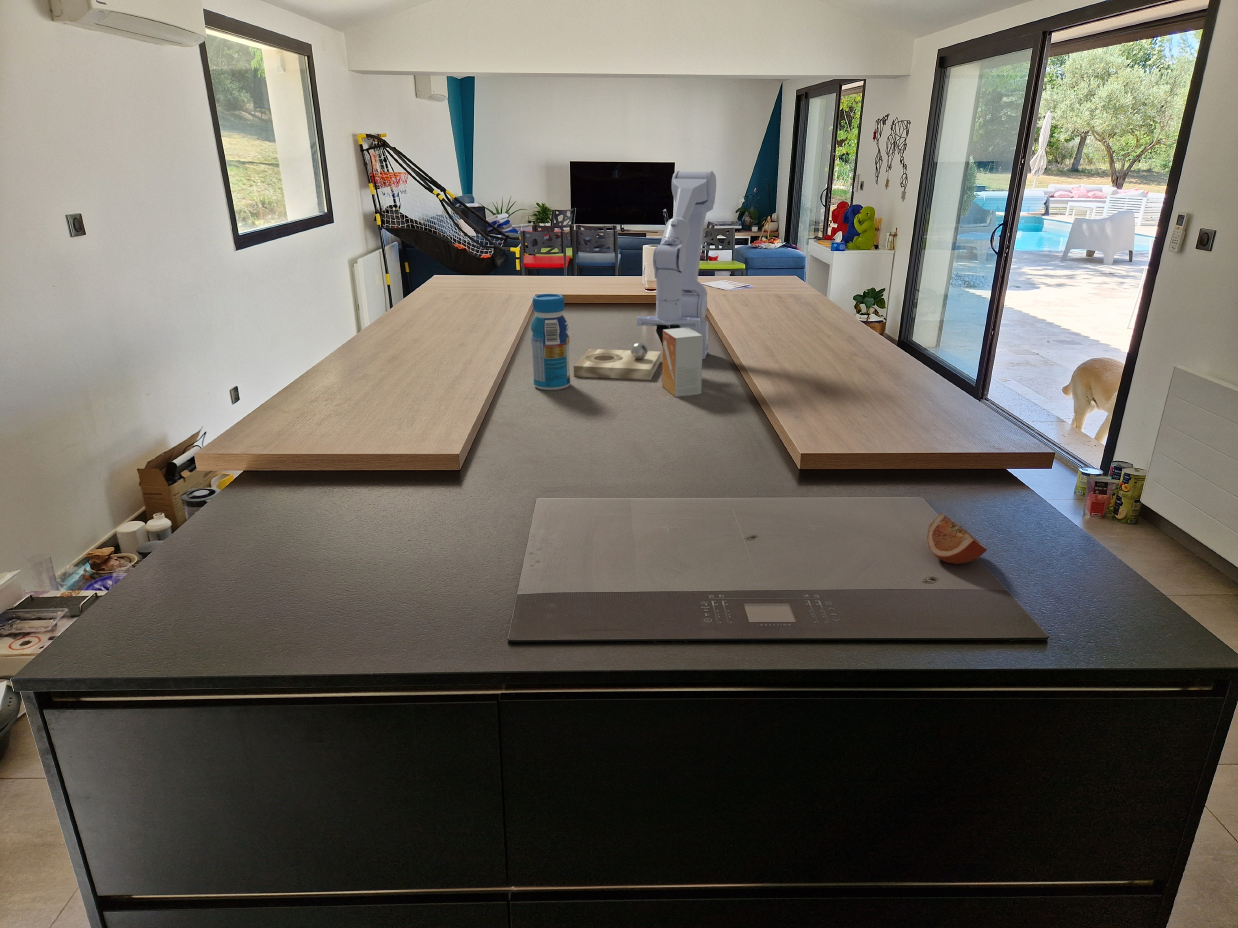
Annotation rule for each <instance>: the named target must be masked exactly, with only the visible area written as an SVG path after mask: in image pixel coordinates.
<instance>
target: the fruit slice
mask: <svg viewBox="0 0 1238 928" xmlns="http://www.w3.org/2000/svg"><path fill="white" fill-rule="evenodd" d="M926 537H927V538H926V539H927V545H928V549H929V551H930V552H931V553H932V554H933V555H934V556H935V557H936V558H938V559H939V560H941V561H942V562H945V563H949V564H956V565H959V564H960V565H961V564H966V563H969V562H973V561H974V560H976V559H979V558H980V557H981V556H983V555H984V554H985V553H986V552H987V550H988V548H987V547H986V546H984V545H983V543H981V542H980V541H979V540H978V539H976V538H975V537H974V536H973V535H972V534H971V533H969V532H968V531H967V530H966V529H965V528H963V525H959V524H958V523H956V522H955V521H954V520H952V519H951V518H949V517H948V516H947V515H945V514H944V513H943V512H940V513H939V514H938V516H936V518H935V519H933V521H932V522H931V523H930V524H929V525H928V530H927V535H926Z"/></svg>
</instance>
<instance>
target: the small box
mask: <svg viewBox="0 0 1238 928" xmlns="http://www.w3.org/2000/svg"><path fill="white" fill-rule="evenodd" d="M702 346H703V336H702V335H701V334H699V333H697V332H696V331H694V330H692V329H690V328H675V329H666V330H663V347H662V354H661V361H662V367H661V368H662V369H661V371H662V372H661V376H662V377H661V382H662V383H661V386H662V388H664V389H665V390H666V391H667V392H669V393H670V395H673V397H675V398H679V397H687V396H696V395H702V382H703V381H702V377H703V375H702V373H703V370H702V369H703V359H702Z"/></svg>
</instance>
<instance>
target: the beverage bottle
mask: <svg viewBox="0 0 1238 928" xmlns="http://www.w3.org/2000/svg"><path fill="white" fill-rule="evenodd" d="M532 308H533V309H532V310H533V312H534V314H535V315H534V317H533V319H532V322H531V325H530V332H532V335H531V337H530V344H531V353H532V367H533V371H532V372H533V385H534V387H535V388H537V389H539V390H544V391H556V390H557V391H558V390H562V389H566V388H568V387H569V386H570V384H571V377H570V376H571V375H570V346H569V345H570V336H569V334H568V331H569V324H568V321H567V319H566V318H565V316H564V314H563V313H564V312H565V297H564V295H562V294H559V293H558V294H557V293H541V294H536V295H533V297H532Z"/></svg>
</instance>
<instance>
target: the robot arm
mask: <svg viewBox="0 0 1238 928" xmlns="http://www.w3.org/2000/svg"><path fill="white" fill-rule="evenodd" d="M671 192H672V197H673V198H674V202H675V204H674V209H673V210H674V211H673V214H672V215H673V216H672V218H671V219H669V220H668V221H667V222H666V225H665V228H664V231H663V234H662V237H661V241H660V244H659V245H658V246H656V247H655V248H654V250H653V254H652V255H653V256H652V265H653V271H654V275H653V276H654V279H655V280H656V288H655V289H656V291H655V292H656V293H655V294H656V296H655V298H656V299H655V300H656V301H655V304H656V305H655V309H656V310H655V313H656V314H655V315H644V316H643V315H642V316H640V315H638V316H637V317H636V327H643V326H645V327H656V328H655V331H656V335H657V337H658V339H659V341H660V344H661V346H662V348H663V330H666V329H675V328H690V329H692V330H694V331H696V332H697V333H699V334H701V335H702V336H703V346H702V360H705V359H706V357H707V354H708V351H709V343H708V342H709V322H708V321H707V320H704V319H705V317H706V314H707V310H708V292H707V291H708V290H707V289H706V287H705V286H704V285H703V284H702V283H701V282H699V281H698V278H699V270H700V261H701V253H702V243H703V236H704V235H703V234H704V228H705V227H704V226H705V220H706V217H707V213H709V212H710V211H712V210H713V209H714V206H715V200H716V192H717V177H716V173H714V171H713V170H710V171H680V170H675V172H674V173H673V174H672V178H671Z"/></svg>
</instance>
